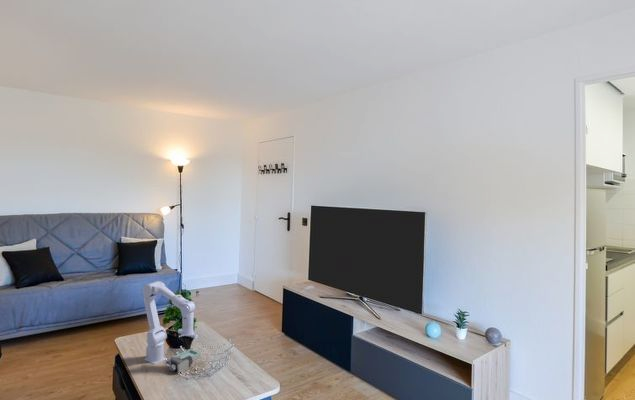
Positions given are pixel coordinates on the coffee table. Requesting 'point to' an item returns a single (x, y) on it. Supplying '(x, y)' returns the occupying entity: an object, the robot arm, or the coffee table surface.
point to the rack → (188, 354)
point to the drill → (175, 364)
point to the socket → (179, 364)
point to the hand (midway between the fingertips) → (187, 348)
